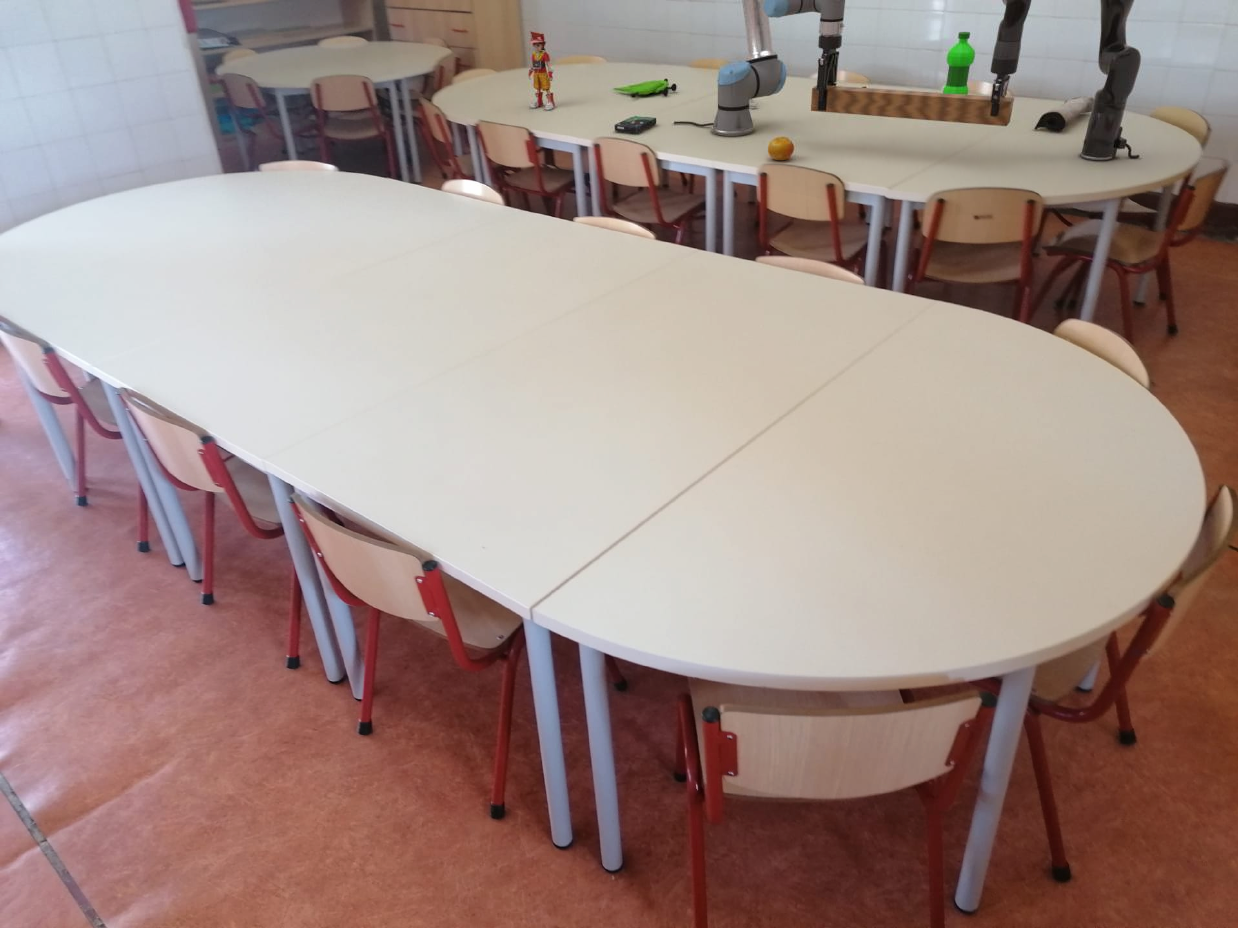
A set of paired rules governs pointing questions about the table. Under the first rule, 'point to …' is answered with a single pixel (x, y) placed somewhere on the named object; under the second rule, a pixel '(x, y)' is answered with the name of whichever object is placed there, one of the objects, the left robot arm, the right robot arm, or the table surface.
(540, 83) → the toy
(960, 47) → the plastic bottle
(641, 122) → the disk drive
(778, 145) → the fruit
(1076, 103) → the rolled mat
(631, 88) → the toy
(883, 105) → the beam
